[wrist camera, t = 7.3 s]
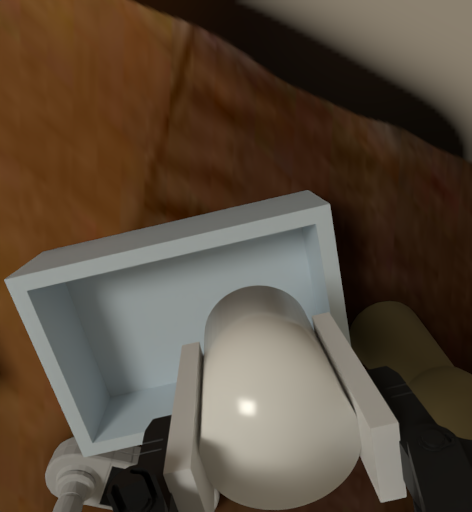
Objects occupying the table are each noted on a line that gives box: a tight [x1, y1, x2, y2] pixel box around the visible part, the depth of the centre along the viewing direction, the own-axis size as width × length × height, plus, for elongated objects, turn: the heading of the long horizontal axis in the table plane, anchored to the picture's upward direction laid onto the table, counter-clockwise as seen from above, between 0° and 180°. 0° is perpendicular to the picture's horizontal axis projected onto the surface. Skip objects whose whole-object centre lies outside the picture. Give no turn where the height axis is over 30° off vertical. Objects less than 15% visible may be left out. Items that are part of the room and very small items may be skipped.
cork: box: [349, 301, 472, 440], centre depth 27 cm, size 6×6×11 cm
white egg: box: [199, 285, 361, 510], centre depth 15 cm, size 5×5×7 cm
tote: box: [4, 190, 351, 457], centre depth 28 cm, size 20×14×6 cm
